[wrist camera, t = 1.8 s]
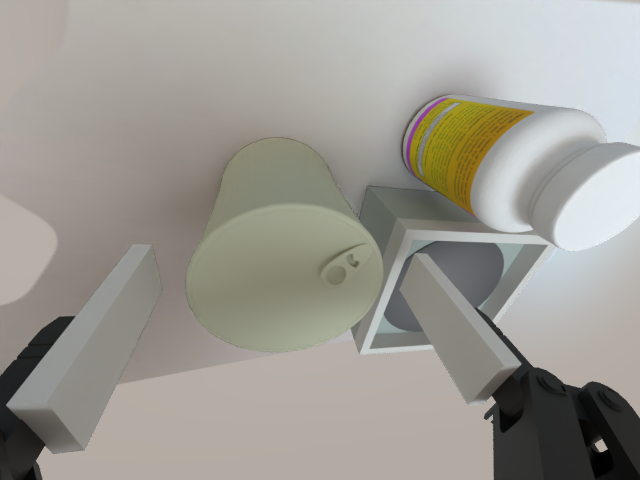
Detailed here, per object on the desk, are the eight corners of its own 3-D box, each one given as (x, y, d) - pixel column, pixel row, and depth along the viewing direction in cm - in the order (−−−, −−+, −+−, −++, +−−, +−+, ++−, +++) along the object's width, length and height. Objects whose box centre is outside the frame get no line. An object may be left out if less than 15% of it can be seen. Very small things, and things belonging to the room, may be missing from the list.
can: (351, 206, 23) (415, 305, 13) (269, 257, 25) (272, 381, 15) (293, 110, 18) (327, 157, 8) (194, 182, 20) (124, 294, 10)
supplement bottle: (393, 180, 23) (506, 276, 12) (407, 94, 19) (586, 123, 8) (462, 175, 24) (622, 260, 13) (488, 93, 20) (738, 117, 9)
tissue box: (339, 294, 29) (359, 354, 23) (367, 185, 22) (406, 229, 16) (438, 293, 32) (479, 345, 26) (490, 196, 25) (562, 236, 19)
